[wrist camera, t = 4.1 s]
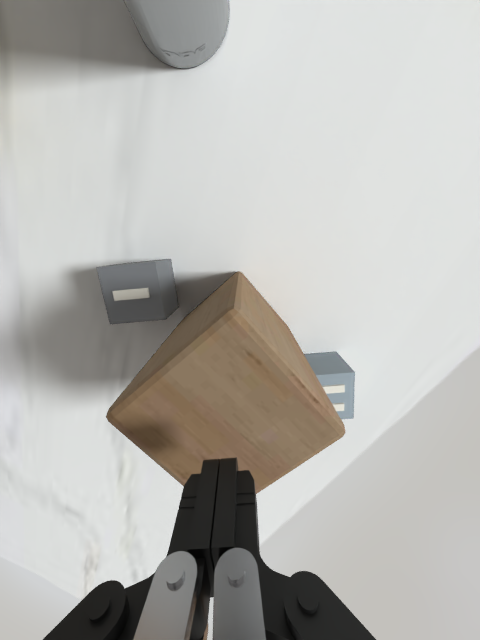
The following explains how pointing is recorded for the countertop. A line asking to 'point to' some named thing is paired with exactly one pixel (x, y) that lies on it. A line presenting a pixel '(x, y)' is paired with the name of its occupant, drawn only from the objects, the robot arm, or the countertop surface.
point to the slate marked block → (335, 380)
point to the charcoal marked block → (138, 291)
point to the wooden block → (228, 393)
